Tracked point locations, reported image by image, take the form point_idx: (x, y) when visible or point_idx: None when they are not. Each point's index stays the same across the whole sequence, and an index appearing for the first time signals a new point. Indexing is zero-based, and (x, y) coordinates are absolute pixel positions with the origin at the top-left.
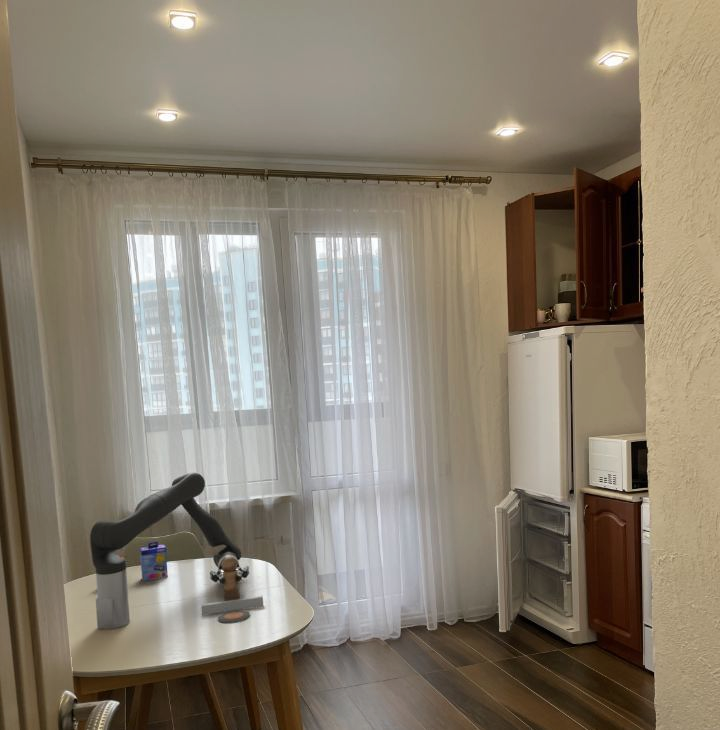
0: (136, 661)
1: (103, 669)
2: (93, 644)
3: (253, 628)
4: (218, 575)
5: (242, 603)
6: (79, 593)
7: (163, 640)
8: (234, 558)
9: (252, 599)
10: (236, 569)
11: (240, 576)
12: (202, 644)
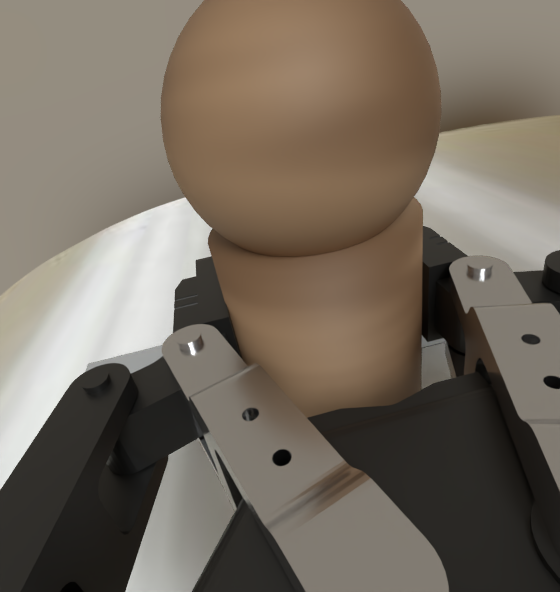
0: (464, 139)
1: (518, 122)
2: None
3: (195, 239)
4: (537, 299)
5: None
6: None
7: (478, 180)
8: (182, 32)
9: (161, 350)
10: (215, 248)
11: (189, 281)
12: None
